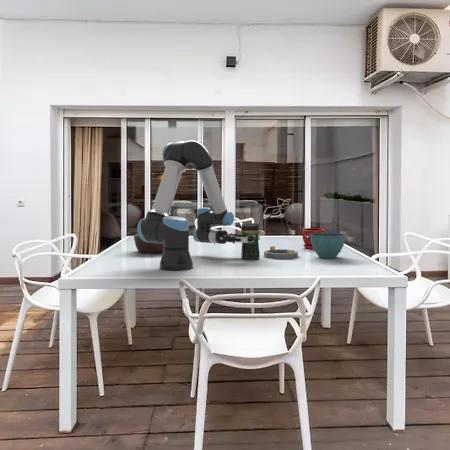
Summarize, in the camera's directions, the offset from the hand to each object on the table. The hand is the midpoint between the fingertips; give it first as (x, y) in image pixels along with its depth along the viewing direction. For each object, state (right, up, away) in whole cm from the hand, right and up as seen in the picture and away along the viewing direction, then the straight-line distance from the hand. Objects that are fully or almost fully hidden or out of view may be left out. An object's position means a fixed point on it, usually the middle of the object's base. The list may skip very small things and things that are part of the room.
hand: (253, 238), depth 207 cm
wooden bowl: (-56, -9, +30) cm, 64 cm away
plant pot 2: (+39, -10, +4) cm, 41 cm away
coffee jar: (-2, -11, +1) cm, 11 cm away
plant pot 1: (+39, -7, +38) cm, 55 cm away
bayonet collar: (+15, -10, +9) cm, 20 cm away
